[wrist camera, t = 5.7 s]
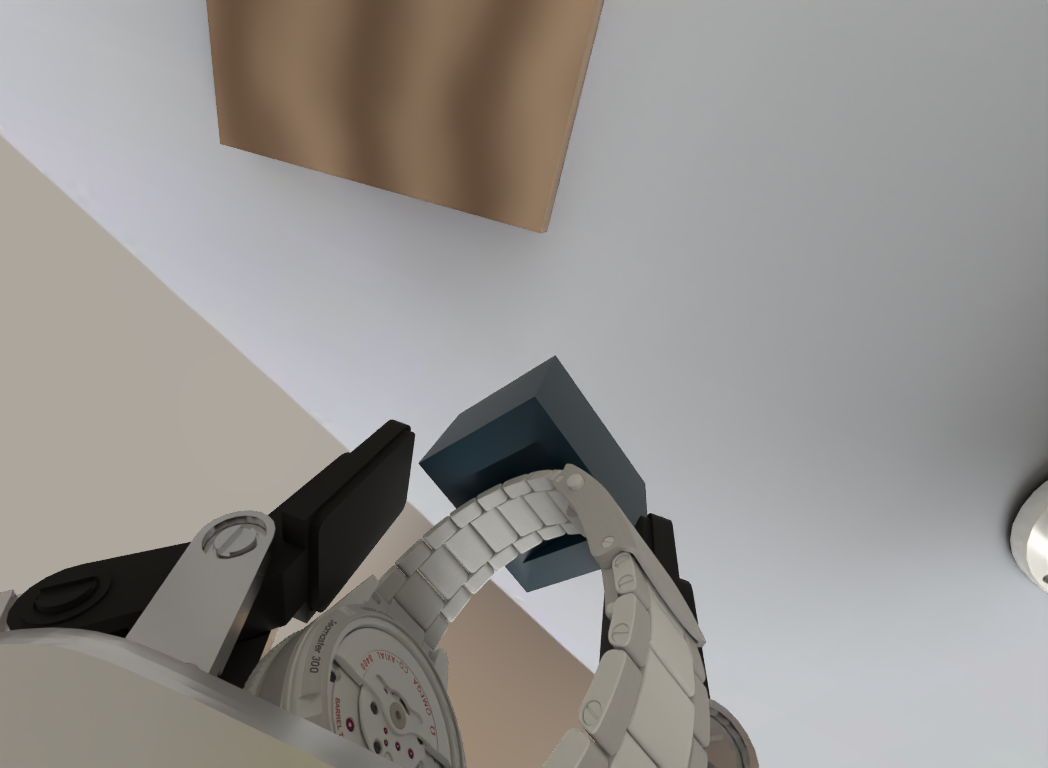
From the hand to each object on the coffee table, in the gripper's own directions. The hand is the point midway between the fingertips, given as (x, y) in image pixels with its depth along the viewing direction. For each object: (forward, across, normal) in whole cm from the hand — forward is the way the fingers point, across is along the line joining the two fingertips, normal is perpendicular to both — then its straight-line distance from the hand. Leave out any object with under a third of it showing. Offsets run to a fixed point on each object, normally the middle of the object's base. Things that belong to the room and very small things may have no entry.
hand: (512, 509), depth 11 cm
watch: (+4, 0, 0) cm, 4 cm away
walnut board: (+16, +14, -14) cm, 25 cm away
